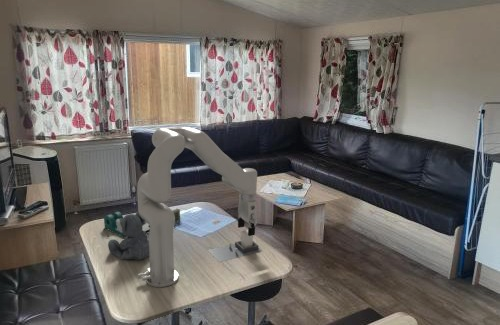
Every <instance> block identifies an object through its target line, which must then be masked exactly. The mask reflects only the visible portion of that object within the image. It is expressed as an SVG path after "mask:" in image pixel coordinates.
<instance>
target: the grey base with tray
mask: <svg viewBox="0 0 500 325" xmlns="http://www.w3.org/2000/svg"><path fill="white" fill-rule="evenodd" d="M259 247H260V246H259V244H257V243H256V242H255V241H254V240H253V246H251V247H247V248H243V247H242V246H241V240H239V241H238V240H237V241H235V242H234V243H233V244H232V242H229V243H228V245H224V246H220V247H215V248H211V249H208V250H207V251H208V252H209V253H210V255H212V257H213V258H214V259H216V261H217V262H218V263H220V262H225V261H229V260H233V259H236V258H237V259H238V258H240V257H244V256H248V255H252V254H256V253H260V252H263V250H262V249H261V248H259Z"/></svg>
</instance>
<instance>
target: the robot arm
mask: <svg viewBox="0 0 500 325" xmlns="http://www.w3.org/2000/svg"><path fill="white" fill-rule="evenodd" d="M151 142H152V144H153V147H155V148H154V149H153V151H152V153H151V154H150V155H149V157H148V160H147V169H146V170H147V171H146V172H145V173H143V174H141V176H140V177H139V179H138V181H137V186H136V192H137V193H136V194H137V209H138V211H139V214H140V216H141V218H142V219H143V220H145V221H146V222H147V223H146V224H148V226H149V225H150V228H149V229H150V232H148V244H149V255H148V257H149V258H148V259H149V260H148V262H149V267H148V268H147V271H145V272H140V273H137V279H138V280H141V279H142V281H146V283H147V284H148V285H149V286H151V287H153V288H164V287H169V286H171V285H173V284H175V283H177V281H178V280H179V273H178V271H177V270H175V251H174V249H175V248H174V231H175V230H174V228H175V224H176V222H175V216H174V213H173V209H172V208H170V207H169V206H168V205H166V204H165V203H166V202H168V200H169V199H170V197H171V195H172V175H171V174H172V172H171V170H172V164H173V162H174V160H175V159H176V158H177V157H178V156H179V155H180V154H182V152H183V151H184V149H185V148H186V149H188V150H190V151H192V152H193V153H194V154H195V156H197V157H198V158H199V159H200V160H201V161H202V162H203V163H204V164H205V165H206V166H207V167H208V168H209V169H211V170H212V171H213V172H215V173H217V174H219V175H221V181H222V183H223V184H224V185H225V186H227V187H229V188H231V189H234V190H235V191H238V192H239V197H238V199H239V200H238V207H237V208H236V211H237V213H236V214H237V228H239V229H240V228H244V227H245V222H246V223H248V224H247V225H248V228H247V230H248V236H252V235H253V236H255V235H256V227H257V225H258V221H259V220H258V205H257V187H258V171H257V170H256V169H255V168H253V167H252V168H250V167H245V168H243V167H241V166H240V165H239V164H237V163H236V161H234V160H233V159H232V158H231V157H229V156H228V155H227V154H225V153H224V152H223V150H221V148H220V147H219V146H218V145H217V144H216V143H215V142H214V140H212V139H211V137H210V136H209V135H208V134H207V133H206V132H204V131H203V130H200V129H197V128H193V127H161V128H158V129H156V130H155V131H154V132H153V133H152V136H151ZM138 211H137V212H138Z"/></svg>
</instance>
